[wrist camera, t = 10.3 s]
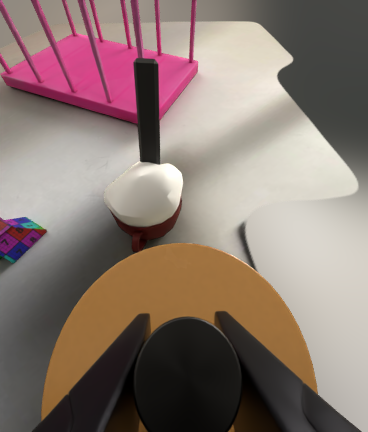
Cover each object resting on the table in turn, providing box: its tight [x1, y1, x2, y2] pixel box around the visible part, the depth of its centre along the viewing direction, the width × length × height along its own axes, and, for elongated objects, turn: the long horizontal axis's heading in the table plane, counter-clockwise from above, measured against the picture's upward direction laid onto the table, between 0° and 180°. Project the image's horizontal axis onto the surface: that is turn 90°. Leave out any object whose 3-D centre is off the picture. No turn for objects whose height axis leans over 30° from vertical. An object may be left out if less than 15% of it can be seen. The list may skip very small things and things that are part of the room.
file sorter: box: [0, 0, 198, 124], centre depth 28 cm, size 17×25×16 cm
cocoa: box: [104, 58, 183, 253], centre depth 17 cm, size 10×6×12 cm, turn 151°
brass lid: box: [41, 243, 318, 432], centre depth 7 cm, size 10×10×5 cm
